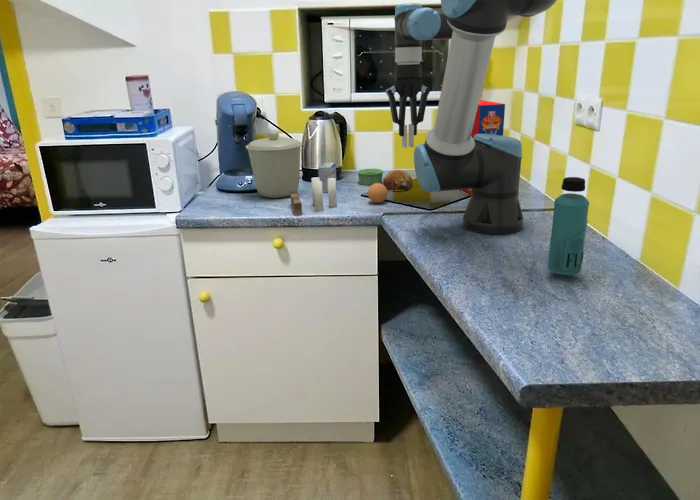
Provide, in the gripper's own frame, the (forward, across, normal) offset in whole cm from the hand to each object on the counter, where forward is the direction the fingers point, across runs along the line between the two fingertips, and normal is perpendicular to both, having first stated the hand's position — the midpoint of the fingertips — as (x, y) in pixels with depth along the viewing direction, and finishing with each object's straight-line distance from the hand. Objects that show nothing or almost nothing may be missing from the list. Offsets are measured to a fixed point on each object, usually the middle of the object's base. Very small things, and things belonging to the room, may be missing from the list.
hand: (407, 146), depth 159 cm
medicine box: (+17, +22, -21) cm, 34 cm away
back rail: (+16, +34, 0) cm, 38 cm away
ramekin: (+17, +6, -26) cm, 31 cm away
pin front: (+16, +24, 0) cm, 29 cm away
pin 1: (+16, +28, -2) cm, 33 cm away
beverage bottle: (+17, -12, +65) cm, 68 cm away
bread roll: (+17, -2, -16) cm, 23 cm away
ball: (+13, +10, 0) cm, 16 cm away
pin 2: (+16, +28, +2) cm, 33 cm away
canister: (+17, +38, -20) cm, 46 cm away
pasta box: (+17, -24, -9) cm, 30 cm away
